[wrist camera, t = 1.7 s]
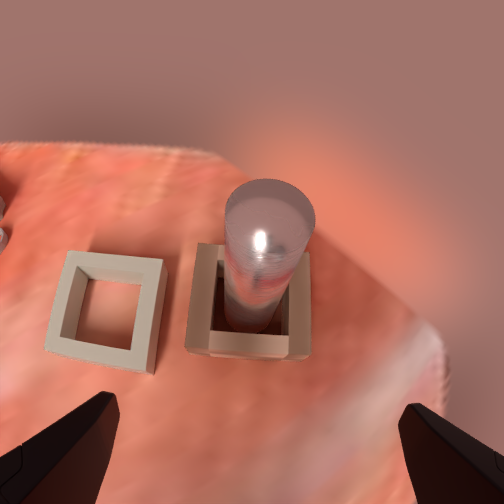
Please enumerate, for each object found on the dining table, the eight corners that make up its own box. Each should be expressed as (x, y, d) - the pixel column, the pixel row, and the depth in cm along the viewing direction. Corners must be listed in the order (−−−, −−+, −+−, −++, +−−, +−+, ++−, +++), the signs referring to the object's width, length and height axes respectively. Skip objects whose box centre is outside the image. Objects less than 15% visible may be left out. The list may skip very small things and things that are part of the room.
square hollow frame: (168, 273, 24) (162, 259, 22) (153, 375, 20) (145, 370, 18) (79, 264, 24) (68, 250, 22) (59, 356, 20) (43, 349, 18)
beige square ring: (300, 269, 25) (309, 252, 23) (300, 361, 22) (311, 354, 19) (200, 261, 25) (198, 242, 22) (189, 354, 21) (184, 346, 19)
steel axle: (282, 315, 23) (332, 224, 12) (243, 343, 22) (263, 271, 11) (253, 279, 25) (276, 167, 14) (214, 305, 23) (207, 203, 12)
